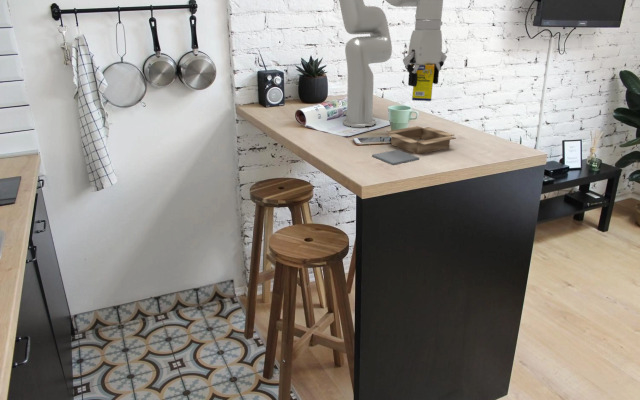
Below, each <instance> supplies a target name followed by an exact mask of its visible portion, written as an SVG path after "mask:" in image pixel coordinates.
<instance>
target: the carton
mask: <svg viewBox="0 0 640 400" xmlns="http://www.w3.org/2000/svg"><path fill="white" fill-rule="evenodd" d="M386 133H388V134H386V136H388V137H391V138H390V145H392V146H395V147H397V148H400V149H403V150H406V151H408V152H411V153H414V154H417V155H420V154H425V153H426V154H427V153H430V152H435V151H439V150H445V149H449V148H450V142H451V140H456V139H457V138H456V137H455V134H453V133H450V132H447V131H443V130H440V129H436V128H433V127H430V126H426V127H421V126H418V125H415V126H409V127H404V128H398V129H394V130H387V131H386ZM419 140H420V141H419Z"/></svg>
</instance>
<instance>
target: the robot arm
mask: <svg viewBox="0 0 640 400" xmlns="http://www.w3.org/2000/svg"><path fill="white" fill-rule="evenodd" d="M385 2H386V3H388V4H389V5H391V6H393V7H396V8H400V7H401V8H404V7H406V8H407V7H412V8H415V7H416V10H415V23H414V30H412V31H411V35H410V39H409V45H408V52H407V53H408V54H407V55H406V56H405V57H404V58H402V63H403V65H404V68H405V69H406V70H407V73H408V82H407V84H408V86H410V87H413V86H414V87H415V86H416V85H417V73H416V71H417V69H418V68H419V66H420V65H427V64H435V66H434V77H433V84H434V85H438V83H439V75H440V71H441V69H442V67H443V66H444V64H445V61H446V60H447V55H446V54H445V53H444V52H443V51H442V50H443V37H442V35H443V34H442V30H441V28H442V27H441V26H442V25H443V21H442V16H443V15H442V14H443V5H444V0H385ZM338 3H339V7H340V11H341V12H340V13H341V16H342V21H343V25H344V29H345V32H347V33H348V34H349V35H366V36H355V37H353V38H351V39H349V40H348V41H347V43H346V44H345V47H344V53H345V59H346V67H347V90H346V91H347V97H346V98H347V99H346V100H347V101H346V103H347V104H346V110H345V111H343V115H345V116H346V117H345V118H344V119H343V120H342V124H343V125H344V126H346V127H350V126H351V127H350V128H366V127H365V126H371V127H373V126H372V125H374V124H376V125H377V120H376V119H374V118H373V104H374V74H373V71H372V70H371V67H370V66H369V65H370V64H379V63H380V64H381V63H385V62H387V61H388V60H390V58H391V57H392V53H393V46H392V45H393V44H392V39H391V35H390V30H389V29H390V28H389V24H388V20H387V15H386V14H385V12H384V10H383V9H382V8H380V7H379V6H376V5H375V6H370V5H369V6H366V5H365V1H364V0H338ZM367 35H368V36H367ZM369 35H370V36H369ZM374 126H375V125H374Z"/></svg>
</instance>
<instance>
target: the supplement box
mask: <svg viewBox="0 0 640 400" xmlns="http://www.w3.org/2000/svg"><path fill="white" fill-rule="evenodd" d="M434 66H435V64H427V65H420V66H419V68H418V69H417V71H416V73H417V85H416V86H415V87H414V86H412V95H411V96H412V97H411V99H412V101H419V102H420V101H422V102H431V101H432V94H433V86H434V85H433V84H434V83H433V77H434Z"/></svg>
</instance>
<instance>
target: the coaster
mask: <svg viewBox="0 0 640 400" xmlns="http://www.w3.org/2000/svg"><path fill="white" fill-rule="evenodd" d="M371 157H373V158H374V159H378V160H380V161H382V162H384V163H387V164H390V165H392V166H395V165H400V164H405V163H409V162H413V161H419V160H420V156H419V157H418V156H415V155H413V154H411V153H408V152H405V151H403V150H400V149H395V150H389V151H385V152H384V151H383V152H379V153H373V154H371Z"/></svg>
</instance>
